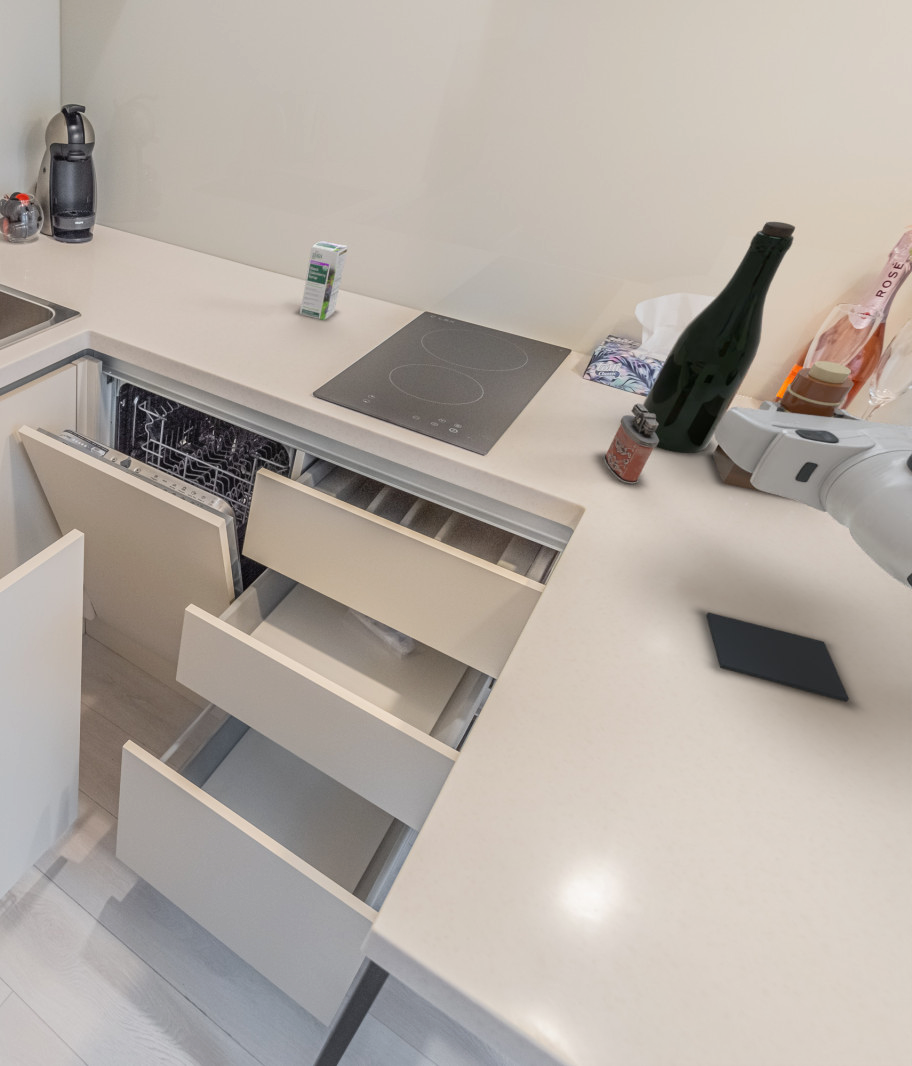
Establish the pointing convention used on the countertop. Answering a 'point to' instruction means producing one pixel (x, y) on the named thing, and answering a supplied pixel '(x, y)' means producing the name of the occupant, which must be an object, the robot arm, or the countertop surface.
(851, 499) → the robot arm
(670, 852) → the countertop surface
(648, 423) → the lighter
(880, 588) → the countertop surface
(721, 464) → the shelf
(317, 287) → the syrup box
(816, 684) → the rubber mat
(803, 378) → the brown ringed jar
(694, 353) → the dark green wine bottle
